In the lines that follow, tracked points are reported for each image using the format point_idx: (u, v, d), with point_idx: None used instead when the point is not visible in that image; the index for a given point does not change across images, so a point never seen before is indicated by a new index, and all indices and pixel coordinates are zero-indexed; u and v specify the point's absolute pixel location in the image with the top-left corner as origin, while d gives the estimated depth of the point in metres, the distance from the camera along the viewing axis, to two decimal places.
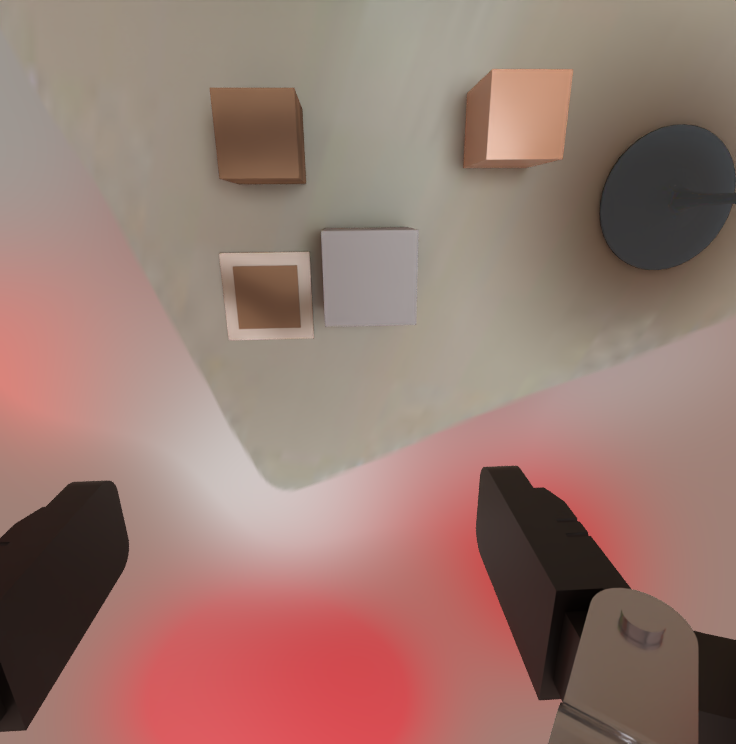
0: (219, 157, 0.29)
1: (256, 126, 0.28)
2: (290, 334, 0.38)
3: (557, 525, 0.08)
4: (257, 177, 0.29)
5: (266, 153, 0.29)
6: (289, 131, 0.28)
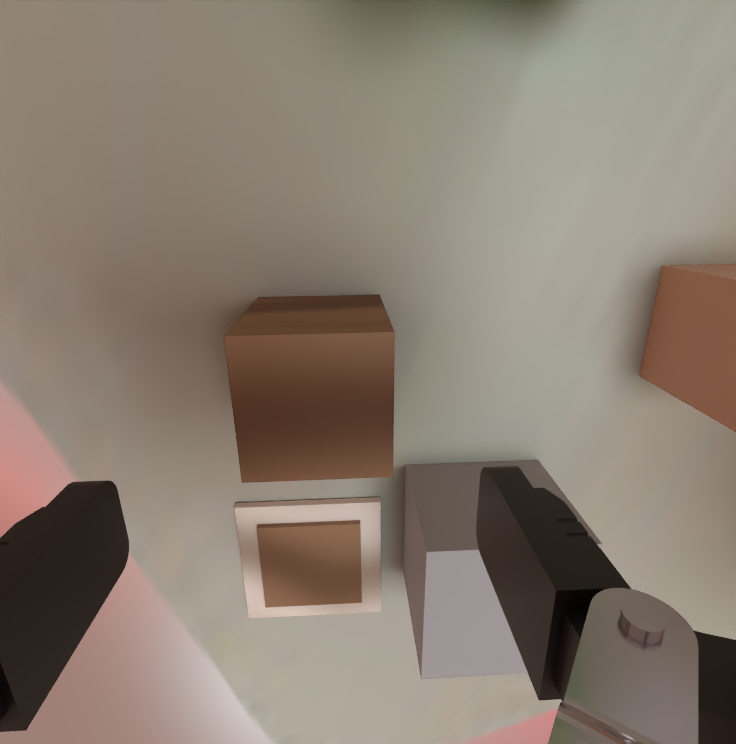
0: (241, 449, 0.15)
1: (315, 399, 0.14)
2: (344, 607, 0.24)
3: (557, 525, 0.08)
4: (314, 478, 0.15)
5: (334, 440, 0.15)
6: (379, 404, 0.14)
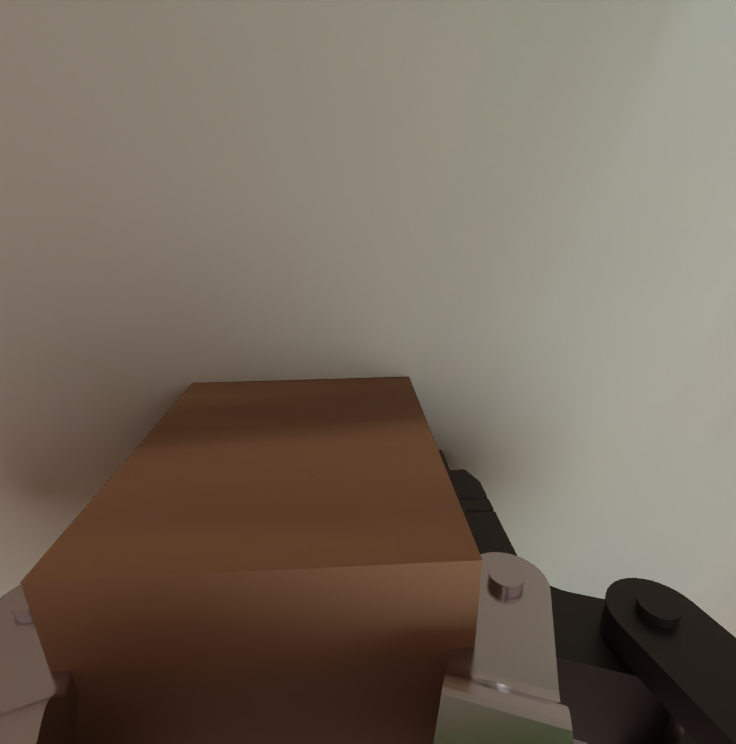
0: None
1: (278, 703, 0.06)
2: None
3: (460, 501, 0.09)
4: None
5: None
6: (434, 708, 0.06)
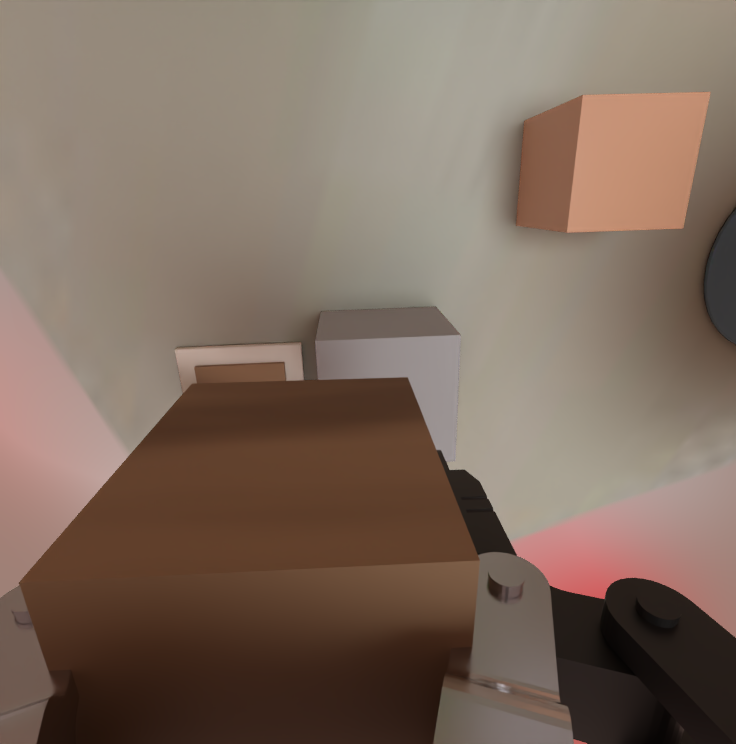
0: None
1: (276, 703, 0.06)
2: None
3: (460, 500, 0.09)
4: None
5: None
6: (431, 707, 0.06)
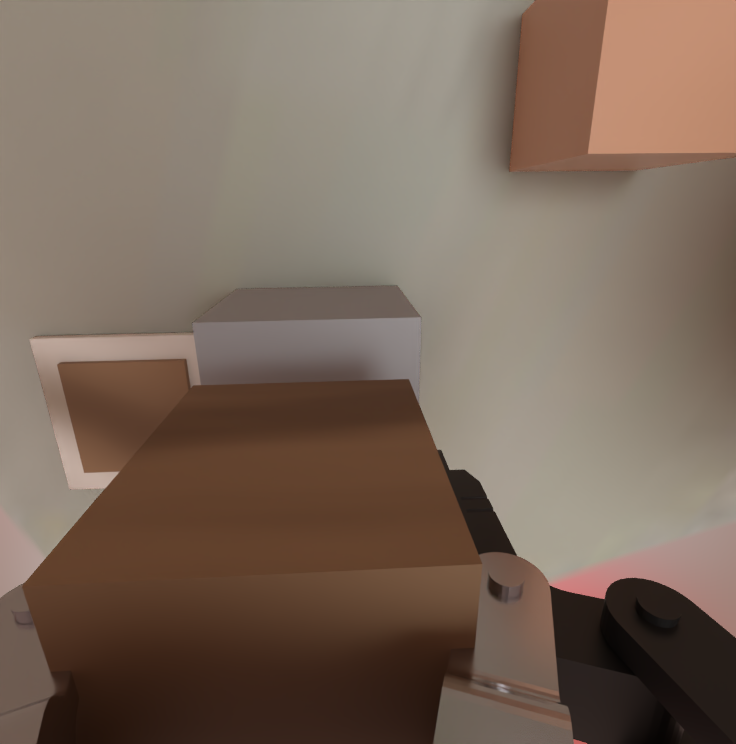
0: None
1: (279, 707, 0.06)
2: None
3: (460, 500, 0.09)
4: None
5: None
6: (434, 711, 0.06)
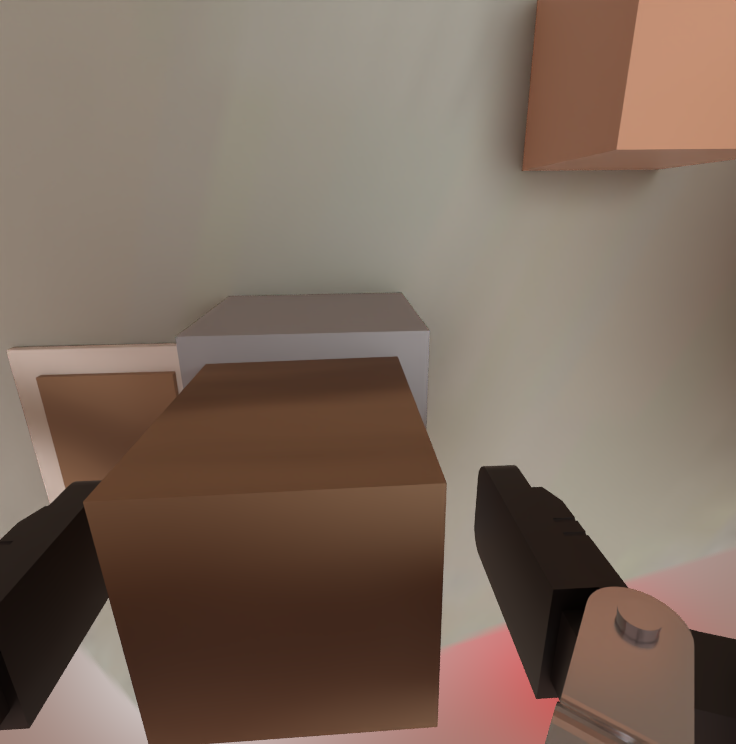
0: (143, 697, 0.07)
1: (286, 607, 0.07)
2: None
3: (554, 524, 0.08)
4: (288, 736, 0.08)
5: (323, 675, 0.08)
6: (413, 612, 0.07)
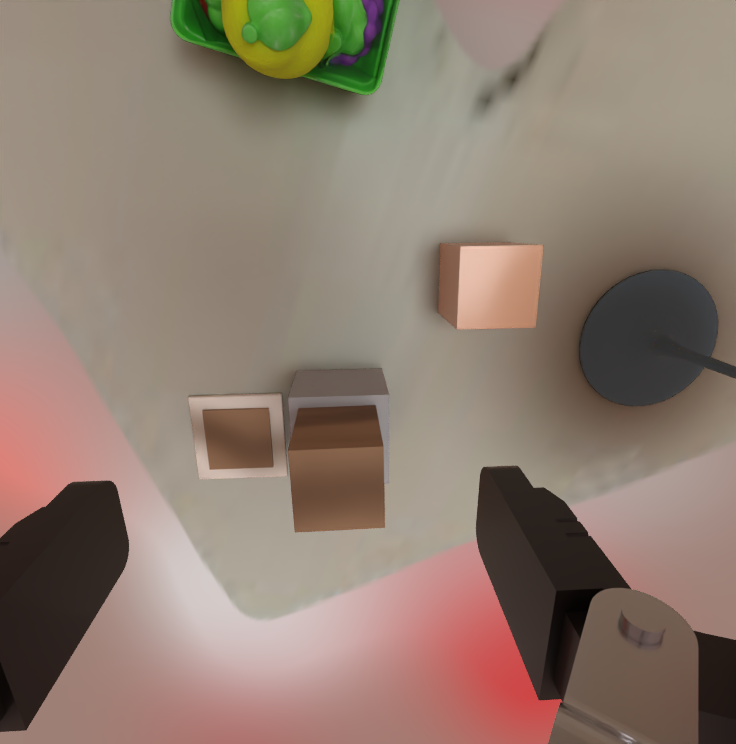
0: (295, 512, 0.25)
1: (339, 483, 0.25)
2: (262, 472, 0.37)
3: (557, 525, 0.08)
4: (337, 529, 0.25)
5: (349, 506, 0.25)
6: (375, 485, 0.25)
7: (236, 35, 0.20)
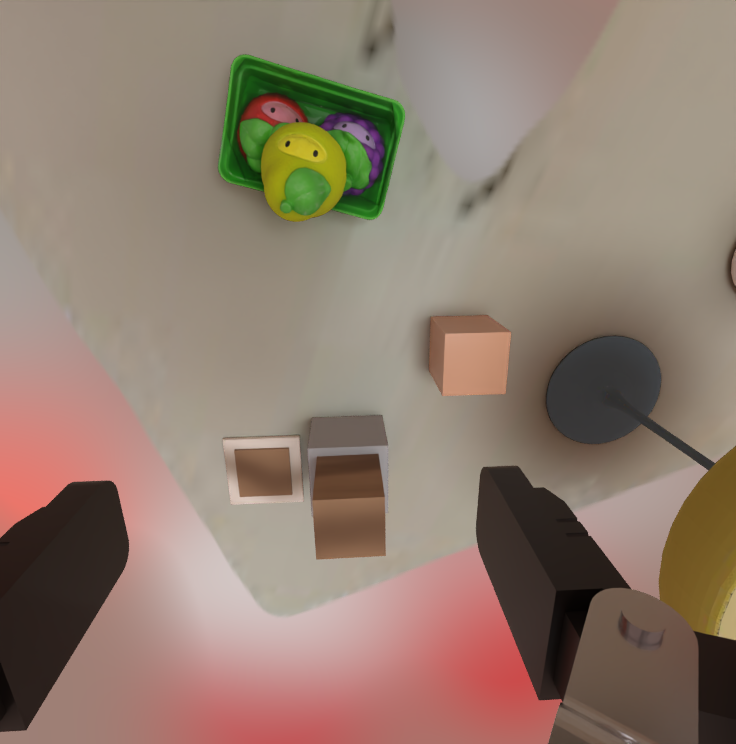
0: (317, 545, 0.33)
1: (350, 523, 0.32)
2: (283, 498, 0.45)
3: (557, 525, 0.08)
4: (349, 557, 0.33)
5: (358, 540, 0.33)
6: (378, 525, 0.32)
7: (275, 204, 0.27)
